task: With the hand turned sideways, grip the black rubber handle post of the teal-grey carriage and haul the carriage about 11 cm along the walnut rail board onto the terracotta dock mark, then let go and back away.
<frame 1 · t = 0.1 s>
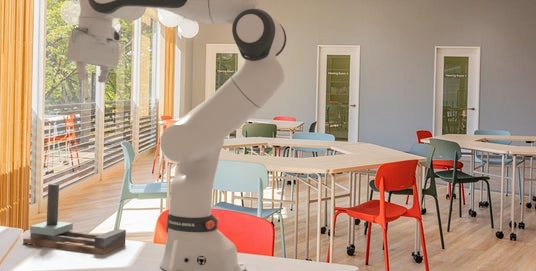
hand: (92, 81, 150), 48 cm above the table, fingers open, 8 cm apart
rail board: (75, 244, 159), on the table
carriage: (52, 207, 161), point 10 cm above the table, slide at 0.0 cm
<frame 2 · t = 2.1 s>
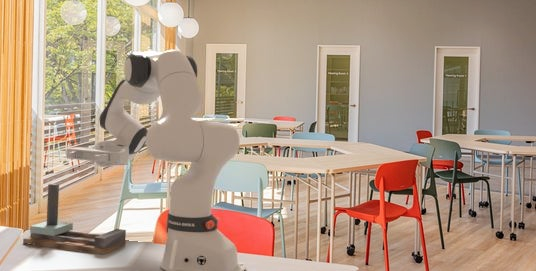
hand: (83, 156, 175), 24 cm above the table, fingers open, 8 cm apart
nothing on the table moved.
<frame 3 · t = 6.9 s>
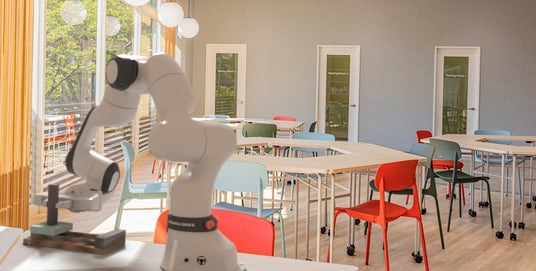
hand: (51, 205, 160), 11 cm above the table, fingers closed on carriage, 3 cm apart
carriage: (52, 207, 161), point 10 cm above the table, slide at 0.0 cm, touching gripper
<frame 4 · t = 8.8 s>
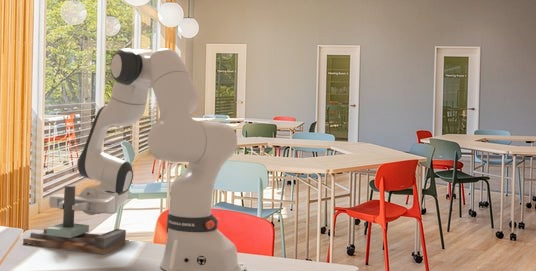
hand: (67, 207, 158), 11 cm above the table, fingers closed on carriage, 3 cm apart
carriage: (69, 209, 159), point 10 cm above the table, slide at 5.5 cm, touching gripper
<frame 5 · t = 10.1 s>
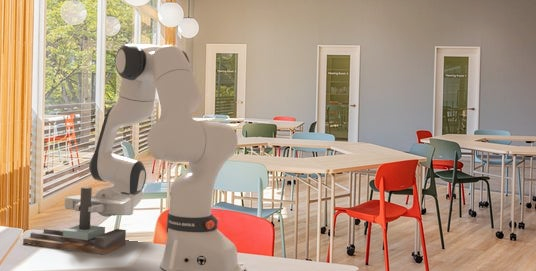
hand: (83, 208, 157), 11 cm above the table, fingers closed on carriage, 3 cm apart
carriage: (85, 211, 158), point 10 cm above the table, slide at 10.9 cm, touching gripper
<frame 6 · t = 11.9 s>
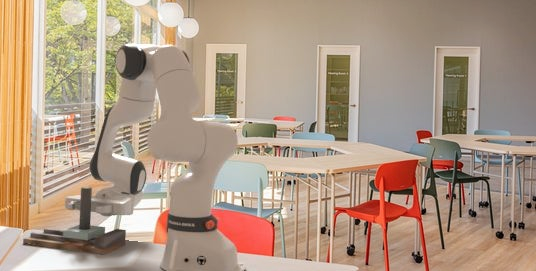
hand: (83, 208, 157), 11 cm above the table, fingers open, 8 cm apart
carriage: (85, 211, 158), point 10 cm above the table, slide at 11.0 cm
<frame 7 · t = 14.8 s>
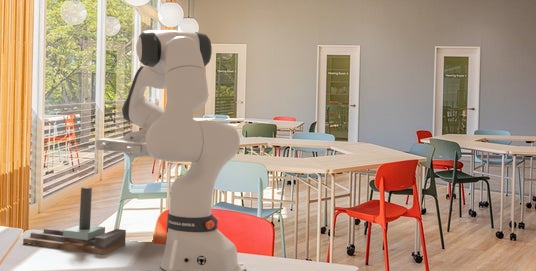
hand: (115, 148, 171), 28 cm above the table, fingers open, 8 cm apart
nothing on the table moved.
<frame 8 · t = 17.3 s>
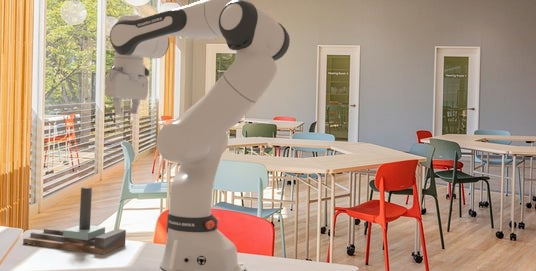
hand: (126, 113, 167), 39 cm above the table, fingers open, 8 cm apart
nothing on the table moved.
at the end: carriage slide at 11.0 cm; the gripper is holding nothing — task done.
